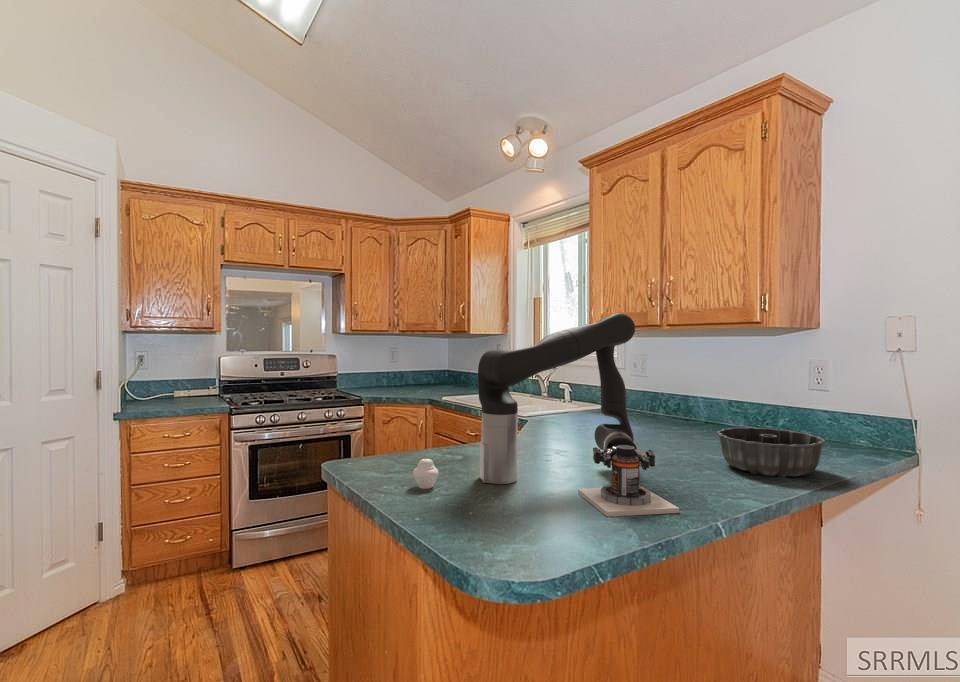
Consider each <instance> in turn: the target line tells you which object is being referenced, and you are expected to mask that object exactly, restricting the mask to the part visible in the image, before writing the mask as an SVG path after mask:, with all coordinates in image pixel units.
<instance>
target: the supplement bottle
mask: <svg viewBox="0 0 960 682" xmlns="http://www.w3.org/2000/svg"><path fill="white" fill-rule="evenodd" d="M634 454H635V447H633V446H628V445H619V446H617V447H616V455H614V456H613V457H612V465H611V485H612V494H614V495H617V496H623V497H639V486H640V470H641V469H640V467H641V466H639V465H640V462H639V459H638V457H636V456H635V455H634Z"/></svg>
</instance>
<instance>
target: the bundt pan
mask: <svg viewBox="0 0 960 682" xmlns="http://www.w3.org/2000/svg"><path fill="white" fill-rule="evenodd" d="M716 434H717V435H718V437H719V442H720V447H721V453H722V455H723V458H724V460H725V462H726V463H727V464H728V465H729V466H731V467H732V468H734V469H737V470H738V469H739V470H740V471H742V472H743V471H744V472H750V473H751V474H752V475H758V474H762V475H764V476H767V477H769V476H770V477H773V476H775V475H777V476H778V477H780V478H786V477H787V476H788V477H792V478H793V477H800V475H801V477H803V476H805V477H806V476H808V475H811V474H812V473H813V472H814V471H815V470H816V469H817V467H818V466H819V464H820V461H821V460H820V459H821V455H822V448H823V444H826V440H825V439H824V438H821V436H818V435H813V434H810V433H806V432H801V431H800V432H799V431H792V430H787V429H779V428H766V427H759V428H758V427H731V428H722V429H721V430H718V431H717V432H716Z"/></svg>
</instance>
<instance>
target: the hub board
mask: <svg viewBox="0 0 960 682" xmlns="http://www.w3.org/2000/svg"><path fill="white" fill-rule="evenodd" d="M639 487H641V488H644V489H646V490H648V491H650V490H649V489H647V488H646V487H643V486H640V485H639ZM601 489H602V487H595V488H592V487H591V488H577V494H578V495H579V496H581V498H583V499H584V500H586V501H587V502H588V503H590V505H592V506H593V507H594V508H596V509H597V510H598V511H599V512H601V514H603V515H604V516H605V517H606V518H607V517H625V516H626V517H627V516H643V515H647V516H648V515H661V514H678V513H680V508H679V507H678V506H677V505H675V504H673V503H672V502H669V501H668V500H666V499H664V498H663V497H661V496H659V495H658V494H656V493H654V492H652V491H650V492H651V502H650V503H648V504H645V505H638V506H631V505H630V506H628V505H619V504H615V503H611V502H608V501H605V500H604V499H603V498H601ZM610 494H612V493H610ZM639 497H641V495H639Z"/></svg>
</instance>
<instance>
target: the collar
mask: <svg viewBox="0 0 960 682" xmlns="http://www.w3.org/2000/svg"><path fill="white" fill-rule="evenodd" d="M601 488H602V489H601V498H603V499H604V500H605V501H608V502H611V503H615V504H619V505H628V506H630V505H631V506H638V505H645V504H648V503H650V502H651V492H652V491H651V492H650V490H649V489H647V488H645V487H644V488H645V489H644V488H641V487H639V495H641V497H623V496H617V495H614V494H610V493H612V484H607V485H603V486H602V487H601ZM646 489H647V490H646ZM648 490H649V491H648Z"/></svg>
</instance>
